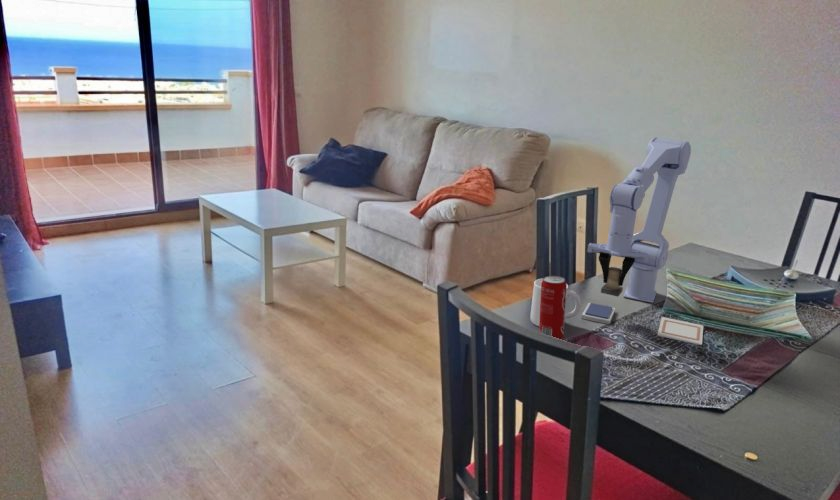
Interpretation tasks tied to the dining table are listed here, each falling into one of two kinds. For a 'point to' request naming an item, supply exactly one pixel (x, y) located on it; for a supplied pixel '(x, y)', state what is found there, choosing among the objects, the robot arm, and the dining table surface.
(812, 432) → the dining table surface
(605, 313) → the ink pad
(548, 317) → the beverage can
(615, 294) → the stamp
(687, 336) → the sheet
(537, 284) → the mug
